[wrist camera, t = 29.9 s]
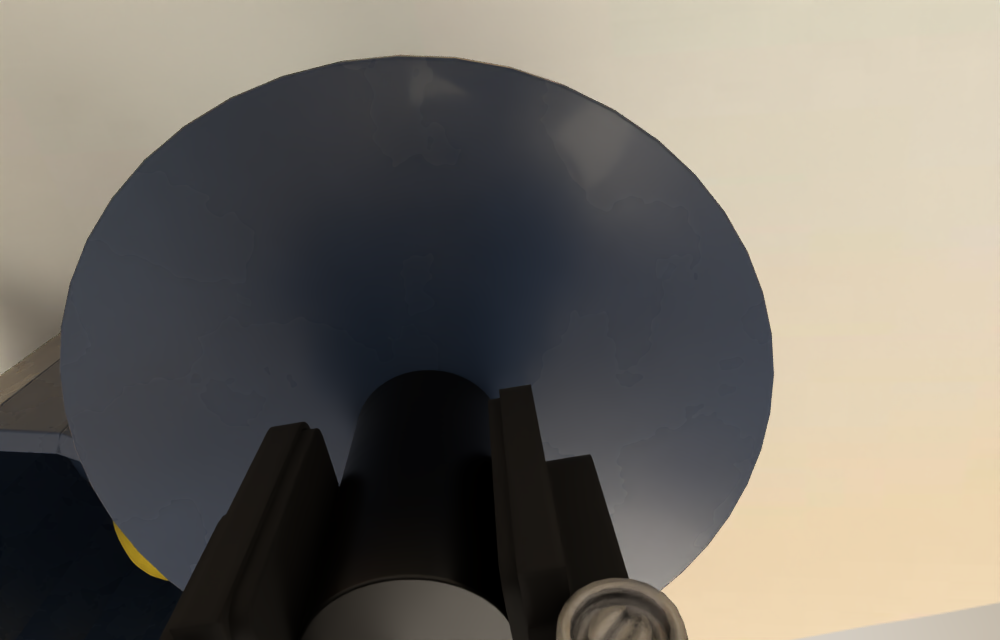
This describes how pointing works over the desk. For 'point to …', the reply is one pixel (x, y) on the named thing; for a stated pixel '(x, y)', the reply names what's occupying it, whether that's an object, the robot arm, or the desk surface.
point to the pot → (62, 527)
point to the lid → (415, 330)
